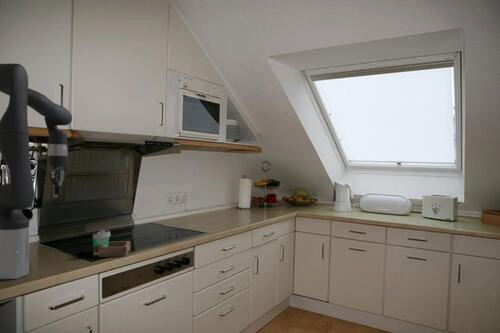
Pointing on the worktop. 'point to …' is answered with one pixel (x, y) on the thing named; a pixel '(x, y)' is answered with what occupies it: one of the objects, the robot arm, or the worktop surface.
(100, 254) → the walnut tray
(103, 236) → the food container
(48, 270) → the worktop surface
